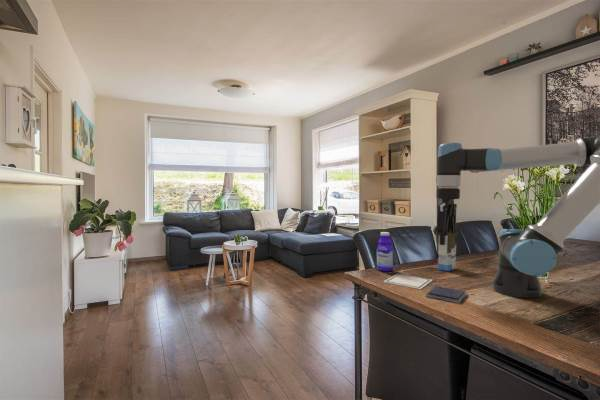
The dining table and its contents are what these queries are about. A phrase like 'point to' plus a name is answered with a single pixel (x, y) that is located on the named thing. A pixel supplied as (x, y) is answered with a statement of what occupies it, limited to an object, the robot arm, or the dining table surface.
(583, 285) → the dining table surface
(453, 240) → the cup
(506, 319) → the dining table surface
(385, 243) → the bottle
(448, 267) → the ink box
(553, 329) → the dining table surface
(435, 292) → the ink pad
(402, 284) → the print sheet
